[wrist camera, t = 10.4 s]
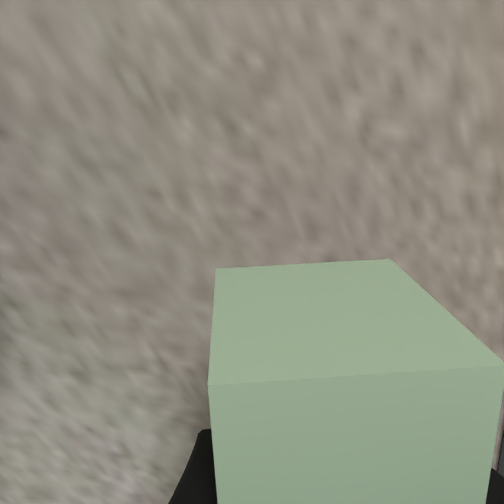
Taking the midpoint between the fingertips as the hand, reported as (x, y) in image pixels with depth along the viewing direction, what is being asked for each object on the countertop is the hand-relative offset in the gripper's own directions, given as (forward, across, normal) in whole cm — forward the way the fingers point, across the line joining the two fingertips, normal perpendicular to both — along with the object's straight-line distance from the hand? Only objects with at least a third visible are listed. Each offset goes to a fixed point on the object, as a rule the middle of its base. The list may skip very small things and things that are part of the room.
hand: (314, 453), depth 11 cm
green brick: (+1, 0, 0) cm, 1 cm away
